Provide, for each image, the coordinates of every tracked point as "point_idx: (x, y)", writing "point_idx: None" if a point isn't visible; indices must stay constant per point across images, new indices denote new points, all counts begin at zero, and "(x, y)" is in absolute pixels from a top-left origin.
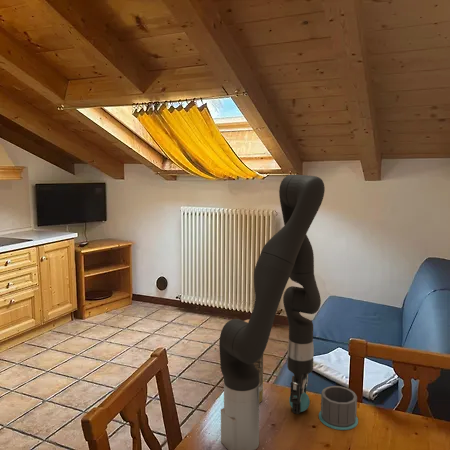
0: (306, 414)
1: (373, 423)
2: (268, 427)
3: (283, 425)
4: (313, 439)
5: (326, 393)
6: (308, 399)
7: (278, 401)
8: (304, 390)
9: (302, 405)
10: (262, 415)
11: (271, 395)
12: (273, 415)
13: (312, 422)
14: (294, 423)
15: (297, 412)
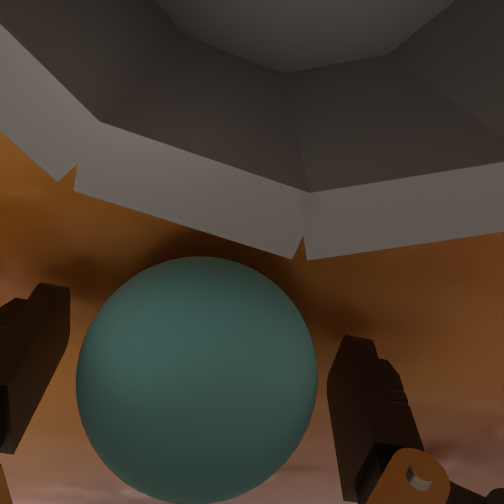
0: None
1: None
2: (468, 471)
3: (448, 399)
4: None
5: (130, 85)
6: (224, 322)
7: None
8: (22, 371)
9: (314, 356)
10: (327, 500)
11: (52, 471)
12: (319, 453)
13: None
14: (423, 333)
15: (390, 370)
